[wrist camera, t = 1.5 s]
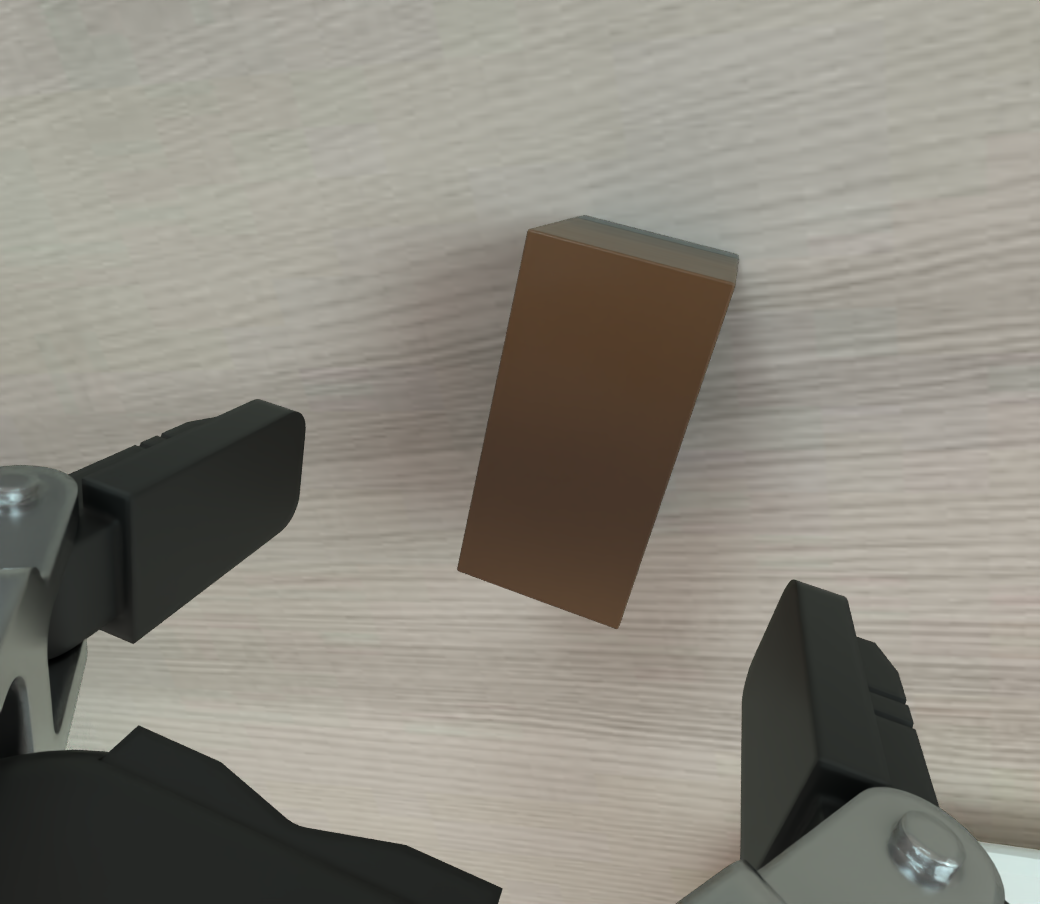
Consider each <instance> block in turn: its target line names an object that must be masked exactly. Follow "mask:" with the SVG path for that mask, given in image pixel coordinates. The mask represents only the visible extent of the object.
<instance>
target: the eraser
mask: <svg viewBox="0 0 1040 904" xmlns="http://www.w3.org/2000/svg"><path fill="white" fill-rule="evenodd" d="M738 260H739V255H737V254H734V253H730V252H727V251H723V250H719V249H715V248H711V247H707V246H703V245H699V244H695V243H691V242H688V241H684V240H680V239H676V238H672V237H668V236H664V235H660V234H656V233H652V232H649V231H645V230H641V229H637V228H633V227H629V226H625V225H621V224H617V223H613V222H610V221H606V220H602V219H598V218H594V217H590V216H586V215H583V216H579V217H575V218H571V219H567V220H563V221H559V222H555V223H551V224H547V225H543V226H540V227H536V228H532V229H529V230H528V231H527V236H526V241H525V246H524V251H523V255H522V260H521V265H520V270H519V275H518V279H517V284H516V289H515V294H514V299H513V303H512V308H511V313H510V318H509V323H508V327H507V332H506V337H505V342H504V347H503V351H502V356H501V361H500V366H499V371H498V375H497V380H496V385H495V390H494V395H493V399H492V404H491V409H490V414H489V419H488V423H487V428H486V433H485V438H484V443H483V447H482V452H481V457H480V462H479V467H478V471H477V476H476V481H475V486H474V491H473V495H472V500H471V505H470V510H469V515H468V519H467V524H466V529H465V534H464V539H463V543H462V548H461V553H460V558H459V563H458V567H457V570H458V571H459V572H462V573H465V574H468V575H470V576H473V577H476V578H479V579H481V580H484V581H487V582H489V583H492V584H495V585H498V586H500V587H503V588H506V589H509V590H511V591H514V592H517V593H519V594H522V595H525V596H528V597H530V598H533V599H536V600H538V601H541V602H544V603H547V604H549V605H552V606H555V607H558V608H560V609H563V610H566V611H568V612H571V613H574V614H577V615H579V616H582V617H585V618H588V619H590V620H593V621H596V622H598V623H601V624H604V625H607V626H609V627H612V628H615V629H618V628H619V626H620V623H621V620H622V617H623V614H624V611H625V608H626V605H627V602H628V599H629V596H630V593H631V590H632V587H633V585H634V582H635V579H636V576H637V573H638V570H639V567H640V564H641V561H642V558H643V555H644V552H645V549H646V546H647V543H648V540H649V538H650V535H651V532H652V529H653V526H654V523H655V520H656V517H657V514H658V511H659V508H660V505H661V502H662V499H663V496H664V494H665V491H666V488H667V485H668V482H669V479H670V476H671V473H672V470H673V467H674V464H675V461H676V458H677V455H678V452H679V449H680V447H681V444H682V441H683V438H684V435H685V432H686V429H687V426H688V423H689V420H690V417H691V414H692V411H693V408H694V405H695V403H696V400H697V397H698V394H699V391H700V388H701V385H702V382H703V379H704V376H705V373H706V370H707V367H708V364H709V361H710V359H711V356H712V353H713V350H714V347H715V344H716V341H717V338H718V335H719V332H720V329H721V326H722V323H723V320H724V317H725V314H726V312H727V309H728V306H729V303H730V300H731V297H732V294H733V291H734V288H735V284H736V276H737V269H738Z"/></svg>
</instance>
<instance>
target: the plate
mask: <svg viewBox="0 0 1040 904" xmlns="http://www.w3.org/2000/svg"><path fill="white" fill-rule="evenodd" d="M978 842H979V843H980V844H981V846H982V847H983V848H984V849H985V851H986V852H987V853H988V855H989V856H990V858H991V860H992V861H993V863H994V864H995V866H996V868H997V870H998V872H999V874H1000V876H1001V879H1002V883H1003V886H1004V891H1005V900H1006V901H1007V902H1008V903H1009V904H1040V850H1037V849H1030V848H1023V847H1016V846H1009V845H1001V844H994V843H987V842H980V841H978Z"/></svg>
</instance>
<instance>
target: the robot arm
mask: <svg viewBox="0 0 1040 904" xmlns="http://www.w3.org/2000/svg"><path fill="white" fill-rule="evenodd" d="M305 428H306V427H305V420H304V417H303V416H302V414H301V413H299V412H296V411H293V410H290V409H287V408H284V407H281V406H278V405H275V404H272V403H269V402H266V401H263V400H260V399H256V400H253V401H250V402H248V403H246V404H244V405H241V406H239V407H237V408H235V409H233V410H230V411H228V412H226V413H224V414H222V415H219V416H217V417H213V418H207V419H202V420H196V421H191V422H187V423H184V424H182V425H180V426H178V427H175V428H173V429H171V430H168V431H166V432H164V433H162V435H161V437H159V436H155V437H153V438H150V439H148V440H146V441H143V442H141V444H140V446H136V445H134V446H132V447H130V448H128V449H125V450H123V451H121V452H118V453H116V454H114V455H112V456H109V457H107V458H105V459H103V460H100V461H98V462H96V463H93V464H91V465H89V466H87V467H84V468H82V469H80V470H78V471H75V472H73V473H71V474H68V475H67V474H66V473H64V472H61V471H58V470H55V469H51V468H47V467H40V466H28V465H14V466H2V467H0V904H498V902H499V899H500V896H501V892H502V889H503V888H501V887H498V886H496V885H494V884H492V883H489V882H487V881H485V880H483V879H480V878H478V877H476V876H474V875H472V874H469V873H467V872H465V871H463V870H460V869H458V868H456V867H454V866H451V865H449V864H447V863H445V862H442V861H440V860H438V859H436V858H434V857H431V856H429V855H427V854H425V853H422V852H420V851H418V850H416V849H413V848H411V847H409V846H407V845H402V844H397V843H391V842H385V841H380V840H374V839H368V838H362V837H357V836H351V835H345V834H340V833H334V832H328V831H322V830H317V829H311V828H306V827H302V826H299V825H296V824H294V823H292V822H291V821H289V820H288V819H287V818H285V817H284V816H283V815H282V814H281V813H280V812H278V811H277V810H276V809H275V808H274V807H273V806H271V805H270V804H269V803H268V802H267V801H266V800H264V799H263V798H262V797H261V796H260V795H259V794H257V793H256V792H255V791H254V790H253V789H252V788H250V787H249V786H248V785H247V784H246V783H245V782H243V781H242V780H241V779H240V778H239V777H238V776H236V775H235V774H234V773H233V772H232V771H231V770H229V769H228V768H227V767H226V766H225V765H224V764H222V763H221V762H219V761H217V760H215V759H213V758H210V757H208V756H206V755H204V754H201V753H199V752H197V751H195V750H192V749H190V748H188V747H186V746H184V745H181V744H179V743H177V742H175V741H172V740H170V739H168V738H166V737H163V736H161V735H159V734H157V733H154V732H152V731H150V730H148V729H146V728H143V727H141V726H139V725H138V726H137V727H136V728H135V729H134V730H133V731H132V732H131V733H130V734H128V735H127V736H126V737H125V738H124V739H123V740H122V741H121V742H120V743H119V744H117V745H116V746H115V747H114V748H113V749H112V750H111V751H110V752H104V751H88V750H65V749H66V745H67V741H68V736H69V732H70V728H71V724H72V719H73V715H74V711H75V707H76V703H77V698H78V694H79V690H80V686H81V681H82V677H83V673H84V669H85V665H86V660H87V653H88V650H87V638H88V637H90V636H91V635H92V634H94V633H95V632H97V631H98V630H102V631H104V632H106V633H109V634H111V635H113V636H116V637H118V638H121V639H123V640H125V641H128V642H130V643H132V644H134V643H135V642H137V641H138V640H139V639H141V638H142V637H143V636H145V635H146V634H147V633H148V632H150V631H151V630H152V629H154V628H155V627H156V626H158V625H159V624H160V623H162V622H163V621H164V620H166V619H167V618H168V617H169V616H171V615H172V614H173V613H175V612H176V611H177V610H179V609H180V608H181V607H183V606H184V605H185V604H186V603H188V602H189V601H190V600H192V599H193V598H194V597H196V596H197V595H198V594H200V593H201V592H202V591H204V590H205V589H206V588H207V587H209V586H210V585H211V584H213V583H214V582H215V581H217V580H218V579H219V578H221V577H222V576H223V575H224V574H226V573H227V572H228V571H230V570H231V569H232V568H234V567H235V566H236V565H238V564H239V563H240V562H242V561H243V560H244V559H245V558H247V557H248V556H249V555H251V554H252V553H253V552H255V551H256V550H257V549H259V548H260V547H261V546H263V545H264V544H265V543H266V542H268V541H269V540H270V539H272V538H273V537H274V536H276V535H277V534H278V533H280V532H281V531H282V530H283V529H284V528H285V527H286V526H287V524H288V523H289V522H290V520H291V518H292V517H293V515H294V513H295V510H296V508H297V505H298V501H299V495H300V485H301V474H302V463H303V452H304V441H305ZM905 703H906V697H905V693H904V690H903V687H902V684H901V680H900V677H899V674H898V671H897V670H896V669H895V668H894V666H893V665H892V664H891V662H890V661H889V660H888V659H887V657H886V656H885V655H884V654H883V652H882V651H881V650H880V648H879V647H878V646H877V645H876V643H874V642H871V641H868V640H865V639H862V638H859V637H856V633H855V629H854V625H853V621H852V616H851V612H850V608H849V604H848V600H847V598H846V597H844V596H841V595H838V594H836V593H833V592H830V591H827V590H824V589H821V588H818V587H815V586H812V585H809V584H806V583H803V582H800V581H797V580H791V581H790V582H789V583H788V585H787V586H786V588H785V590H784V592H783V594H782V596H781V598H780V600H779V602H778V605H777V607H776V609H775V611H774V614H773V616H772V618H771V620H770V622H769V625H768V627H767V629H766V631H765V633H764V636H763V638H762V640H761V642H760V645H759V647H758V649H757V651H756V653H755V656H754V658H753V660H752V663H751V665H750V668H749V671H748V674H747V678H746V681H745V685H744V690H743V696H742V740H741V849H740V860H739V861H736V862H734V863H732V864H730V865H729V866H727V867H726V868H724V869H723V870H722V871H720V872H719V873H717V874H716V875H715V876H713V877H712V878H710V879H709V880H708V881H706V882H705V883H704V884H702V885H701V886H699V887H698V888H697V889H695V890H694V891H692V892H691V893H690V894H688V895H687V896H686V897H684V898H683V899H681V900H680V901H679V902H677V903H676V904H1009V903H1008V902H1007V901H1006V900H1005V891H1004V886H1003V883H1002V879H1001V876H1000V874H999V872H998V870H997V868H996V866H995V864H994V863H993V861H992V860H991V858H990V856H989V855H988V853H987V852H986V851H985V849H984V848H983V847H982V846H981V844H980V843H979V842H978V841H977V840H976V839H975V838H974V837H973V836H972V835H971V834H970V832H969V831H968V830H967V829H965V828H964V827H963V826H962V825H961V824H960V823H959V822H958V821H956V820H955V819H954V818H953V817H951V816H950V815H949V814H947V813H946V812H945V811H943V810H942V809H940V808H939V805H938V802H937V798H936V795H935V792H934V788H933V785H932V782H931V779H930V775H929V772H928V769H927V765H926V762H925V759H924V756H923V752H922V749H921V746H920V743H919V739H918V736H917V733H916V730H915V729H913V724H914V723H913V720H912V716H911V713H910V710H909V707H908V705H905Z"/></svg>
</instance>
